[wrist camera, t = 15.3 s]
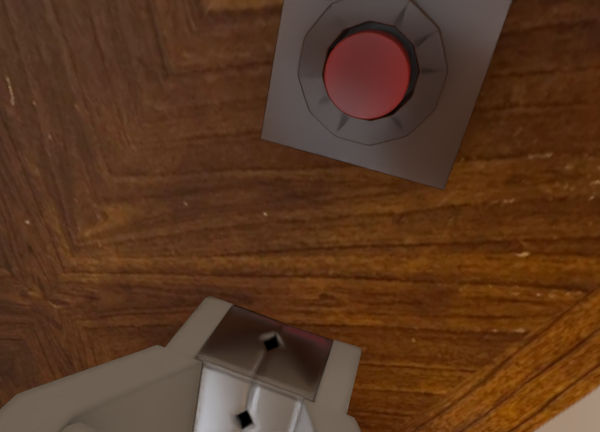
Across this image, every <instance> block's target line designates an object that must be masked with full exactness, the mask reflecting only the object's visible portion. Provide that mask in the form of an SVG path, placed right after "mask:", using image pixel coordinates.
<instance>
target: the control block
mask: <svg viewBox="0 0 600 432" xmlns="http://www.w3.org/2000/svg"><path fill="white" fill-rule="evenodd" d="M512 2H513V0H283V4H282V11H281V17H280V23H279V29H278V35H277V41H276V47H275V53H274V59H273V65H272V71H271V77H270V83H269V89H268V95H267V101H266V107H265V113H264V119H263V125H262V131H261V137H260V138H261V139H262V140H266V141H270V142H273V143H277V144H280V145H284V146H287V147H291V148H295V149H298V150H302V151H305V152H309V153H313V154H316V155H320V156H323V157H327V158H331V159H334V160H338V161H341V162H345V163H349V164H352V165H356V166H359V167H363V168H367V169H370V170H374V171H377V172H381V173H385V174H388V175H392V176H395V177H399V178H403V179H406V180H410V181H413V182H417V183H420V184H424V185H428V186H431V187H435V188H438V189H442V190H444V189H445V186H446V184H447V181H448V178H449V175H450V173H451V170H452V167H453V164H454V162H455V159H456V156H457V153H458V151H459V148H460V145H461V142H462V140H463V137H464V134H465V131H466V129H467V126H468V123H469V120H470V118H471V115H472V112H473V109H474V106H475V104H476V101H477V98H478V95H479V93H480V90H481V87H482V84H483V82H484V79H485V76H486V73H487V71H488V68H489V65H490V62H491V60H492V57H493V54H494V51H495V49H496V46H497V43H498V40H499V38H500V35H501V32H502V29H503V27H504V24H505V21H506V18H507V16H508V13H509V10H510V7H511V5H512ZM368 29H377V30H382V31H386V32H388V33H390V34H392V35H393V36H395V37H396V38H397V39H399V40H400V41H401V43H402V44H403V45H404V46H405V48H406V50H407V52H408V54H409V57H410V60H411V70H412V71H411V78H410V82H409V85H408V88H407V91H406V94H405V95H404V97H403V99H402V100H401V102H400V103H399V104H398V105H397V107H396V108H394V109H393V110H392V111H391V112H389V113H388V114H386V115H384V116H382V117H379V118H375V119H367V120H366V119H357V118H353V117H351V116H348V115H346V114H345V113H343V112H342V111H340V110H339V109H338V108H337V107H336V106H335V105H334V104H333V102H332V101H331V99H330V98H329V96H328V93H327V91H326V87H325V82H324V70H325V65H326V62H327V59H328V57H329V55H330V53H331V51H332V50H333V49H334V47H335V46H336V45H337V44H338V43H339V42H340V41H342V40H343V39H344V38H346V37H348V36H350V35H352V34H354V33H357V32H359V31H362V30H368Z"/></svg>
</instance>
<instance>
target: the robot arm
mask: <svg viewBox="0 0 600 432" xmlns="http://www.w3.org/2000/svg"><path fill="white" fill-rule="evenodd" d="M333 341H334V343H333ZM332 344H333V345H332ZM330 351H331V352H330ZM329 354H330V355H329ZM360 355H361V348H360V347H357V346H354V345H351V344H347V343H344V342H341V341H338V340H332V339H330V338H327V337H324V336H321V335H318V334H315V333H312V332H309V331H306V330H303V329H300V328H297V327H294V326H291V325H288V324H285V323H283V322H281V321H278V320H275V319H272V318H270V317H267V316H264V315H262V314H259V313H256V312H254V311H251V310H248V309H246V308H243V307H240V306H238V305H233V304H231V303H228V302H226V301H223V300H220V299H217V298H215V297H212V296H209V297H207V298H205V299H204V300H203V301H202V303H201V304H200V305H199V306H198V307H197V309H196V310H195V311H194V312H193V314H192V315H191V316H190V317H189V318H188V320H187V321H186V322H185V323H184V325H183V326H182V327H181V328H180V329H179V331H178V332H177V333H176V334H175V336H174V337H173V338H172V339H171V340H170V342H169V343H168V344H167V345H166V347H165V348H164V347H162V346H159V345H156V346H153V347H150V348H147V349H144V350H141V351H138V352H136V353H133V354H130V355H127V356H124V357H121V358H118V359H116V360H113V361H110V362H107V363H104V364H101V365H98V366H96V367H93V368H90V369H87V370H84V371H81V372H78V373H75V374H73V375H70V376H67V377H64V378H61V379H58V380H55V381H53V382H50V383H47V384H44V385H41V386H38V387H35V388H33V389H30V390H27V391H24V392H21V393H18V394H17V395H16V396H14V397H13V398H12V399H11V400H10V401H9V402H8V403H7V404H6V405H5V406H3V407H2V408H1V409H0V432H361V430H360V428H359V426H358V424H357V422H356V420H355V418H354V417H351V416H349V415H346V414H347V410H348V406H349V402H350V398H351V393H352V389H353V385H354V381H355V376H356V372H357V368H358V364H359V360H360Z"/></svg>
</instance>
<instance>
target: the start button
mask: <svg viewBox="0 0 600 432" xmlns="http://www.w3.org/2000/svg"><path fill="white" fill-rule="evenodd" d="M411 71H412V70H411V60H410V57H409V54H408V52H407V50H406V48H405V46H404V45H403V44H402V43H401V41H400V40H399V39H397V38H396V37H395V36H393V35H392V34H390V33H388V32H386V31H382V30H377V29H368V30H362V31H359V32H357V33H354V34H352V35H350V36H348V37H346V38H344V39H343V40H342V41H340V42H339V43H338V44H337V45H336V46H335V47H334V49H333V50H332V51H331V53H330V55H329V57H328V59H327V62H326V65H325V70H324V82H325V87H326V91H327V93H328V96H329V98H330V99H331V101H332V102H333V104H334V105H335V106H336V107H337V108H338V109H339V110H340V111H342V112H343V113H345V114H346V115H348V116H351V117H353V118H357V119H366V120H367V119H375V118H379V117H382V116H384V115H386V114H388V113H389V112H391V111H392V110H393V109H394V108H396V107H397V105H398V104H399V103H400V102H401V100H402V99H403V97H404V95H405V94H406V91H407V88H408V85H409V82H410V78H411Z"/></svg>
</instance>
